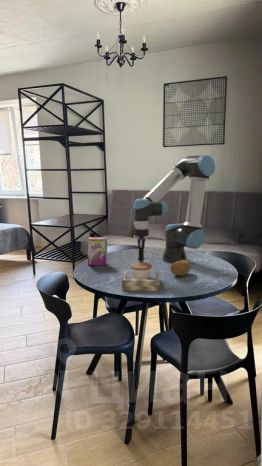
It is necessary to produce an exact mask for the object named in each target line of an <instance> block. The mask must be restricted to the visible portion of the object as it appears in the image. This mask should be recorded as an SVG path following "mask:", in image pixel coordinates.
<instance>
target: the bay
mask: <svg viewBox="0 0 262 466" xmlns="http://www.w3.org/2000/svg"><path fill="white" fill-rule="evenodd" d="M121 290H122V291H138V292H139V291H140V292H141V291H142V292H143V291H144V292H146V291H147V292H160V271H158V270H157V271H156V272H155V279H147V280H136V279H134V278H132V279H131V278H130V279H128V271H127V270H124V271H123V274H122V279H121Z"/></svg>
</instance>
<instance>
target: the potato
mask: <svg viewBox="0 0 262 466" xmlns="http://www.w3.org/2000/svg"><path fill="white" fill-rule="evenodd" d="M191 266H192V265H191V262H190V261H189V260H188V259H187V260H181V261H177V262H174V263H170V266H169V270H170V272H171V274H173V275H175V276H179V277H184V276H185V275H187V274H189V272H190V270H191Z"/></svg>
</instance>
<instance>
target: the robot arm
mask: <svg viewBox="0 0 262 466" xmlns="http://www.w3.org/2000/svg"><path fill="white" fill-rule="evenodd" d="M215 171H216V163H215V161H214V159H213V158H212V156H210V155H207V154H200V155H199V154H198V155H188V156H185V157H183V158H182V159H180V160H179V161H178V162H177V163H176V164H174V166H172V168H171V169H170V171H169V172H168V173H167V175H165V176H164V177H163V178H162V179H161V180H160V181H158V184H156V185H155V186H154V187H153V188H152V189H151V190H150V191H149V192H148V193H147V194H146V195H144V197H142V198H136V199H135V200H134V203H133V211H134V221H133V224H134V236H135V237H139V238H137V248H138V258H137V259H136V260H137V261H138V263H139V262H143V263H145V261H144V260H145V259H146V257H145V255H144V254H145V252H144V251H145V246H146V244H145V243H146V238H144V237H149V234H150V233H149V231H150V230H149V228H150V217H163V216H165V215H167V214H168V212H169V207H168V203H166V202H165V201H160V200H161V199H162V198H163V197H164V196H166V195H167V193H168V192H169V191H170V190H172V188H174V186H176V185H177V183H178V182H180V181H183V180H184V179H185V178H187V177H188V180H190V185H189V186H190V188H189V191H188V192H189V194H188V201H187V207H186V215H185V221H184V222H183V223H171V224H166V227H165V248H164V252H163V254H162V261H163V262H166V263H170V264H173V263H174V262H177V261H181V260H187V261H188V258H187V253H186V250H185V248H188V249H191V250H196V249H199V248H200V247H201V246H202V245H203V244H204V242H205V239H206V235H205V232H204V231H203V226H202V224H201V219H202V212H203V208H204V207H203V205H204V200H205V199H204V198H205V191H206V184H207V182H208V181H210V177H211V176H212V175H213V174H214V173H215Z"/></svg>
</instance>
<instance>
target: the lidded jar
mask: <svg viewBox="0 0 262 466" xmlns="http://www.w3.org/2000/svg"><path fill="white" fill-rule="evenodd" d="M152 267H153V266H152V264H151V263H148V262H144V263H143V262H139V261H138V262H133V263H131V264H130V271H131V272H130V273H131V276H132V279H136V280H149V278H150V277H151V275H152Z"/></svg>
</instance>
